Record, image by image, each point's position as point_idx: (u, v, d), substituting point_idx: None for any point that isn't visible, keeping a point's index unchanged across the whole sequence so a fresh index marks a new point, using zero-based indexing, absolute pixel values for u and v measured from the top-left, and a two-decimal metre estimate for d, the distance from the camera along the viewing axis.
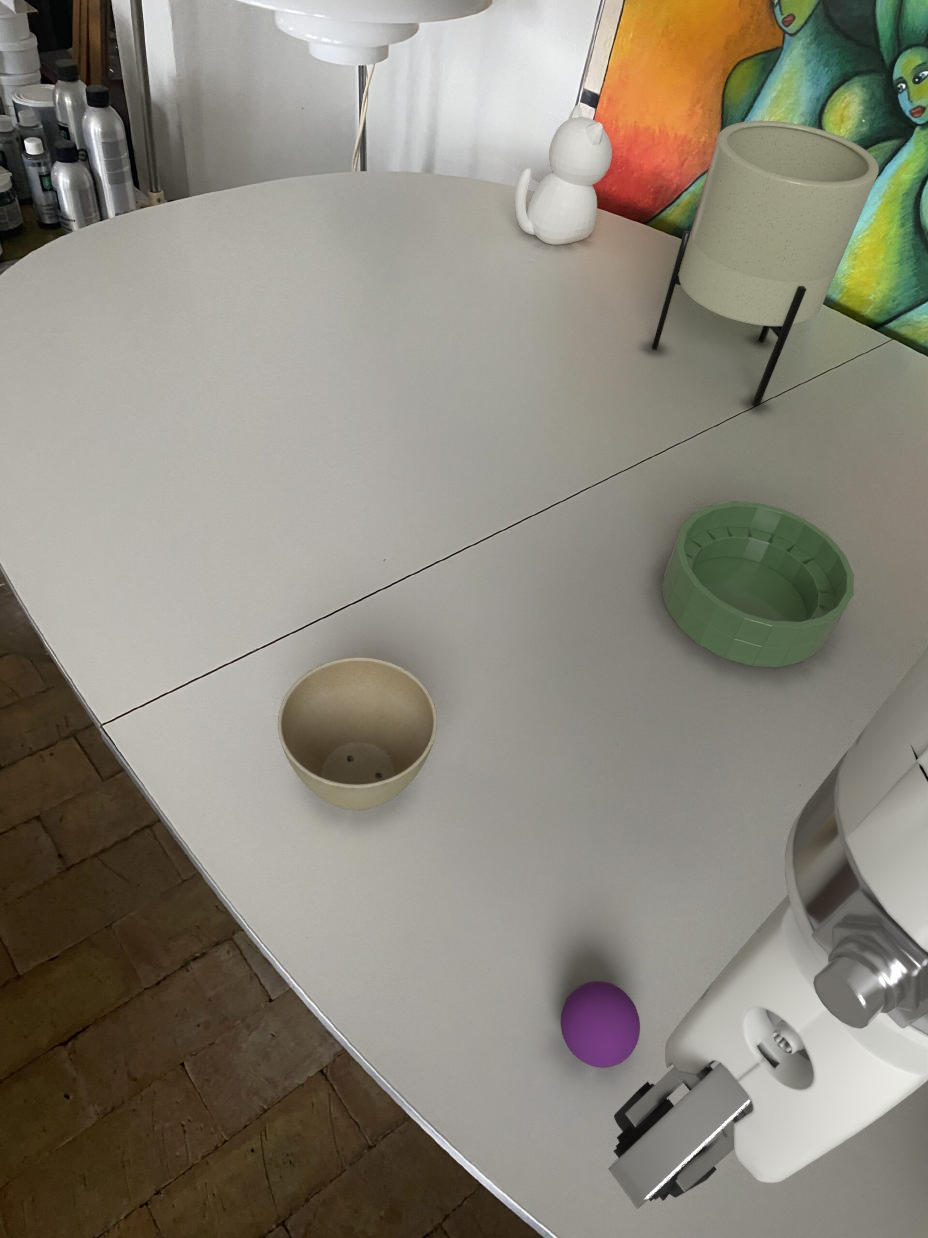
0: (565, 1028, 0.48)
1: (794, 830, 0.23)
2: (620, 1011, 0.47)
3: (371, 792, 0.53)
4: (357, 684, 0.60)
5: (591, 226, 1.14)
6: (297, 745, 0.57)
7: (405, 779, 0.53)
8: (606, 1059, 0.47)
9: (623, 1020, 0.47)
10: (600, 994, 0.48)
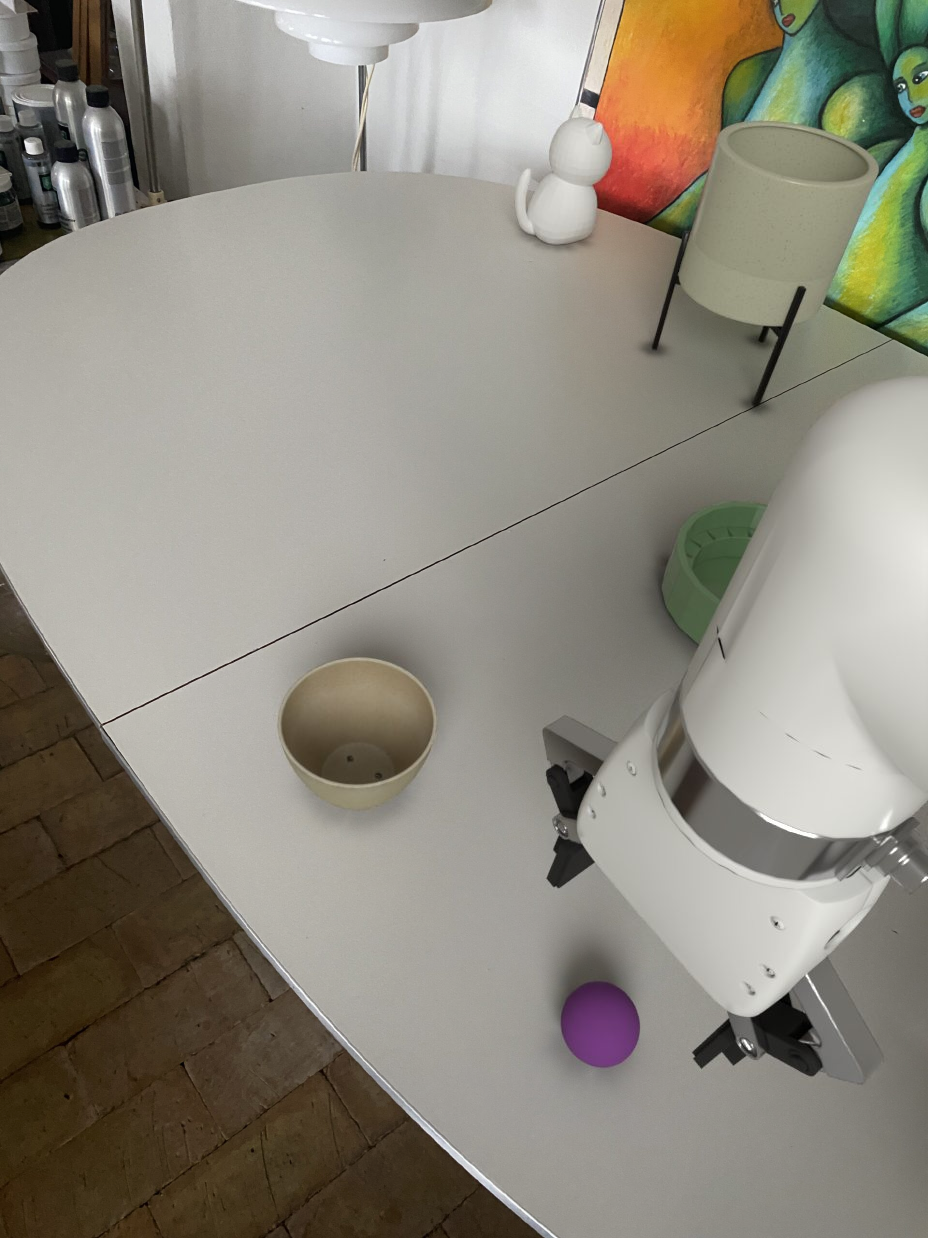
0: (565, 1028, 0.48)
1: (740, 867, 0.26)
2: (620, 1011, 0.47)
3: (371, 792, 0.53)
4: (357, 684, 0.60)
5: (591, 226, 1.14)
6: (297, 745, 0.57)
7: (405, 779, 0.53)
8: (606, 1059, 0.47)
9: (623, 1020, 0.47)
10: (600, 994, 0.48)
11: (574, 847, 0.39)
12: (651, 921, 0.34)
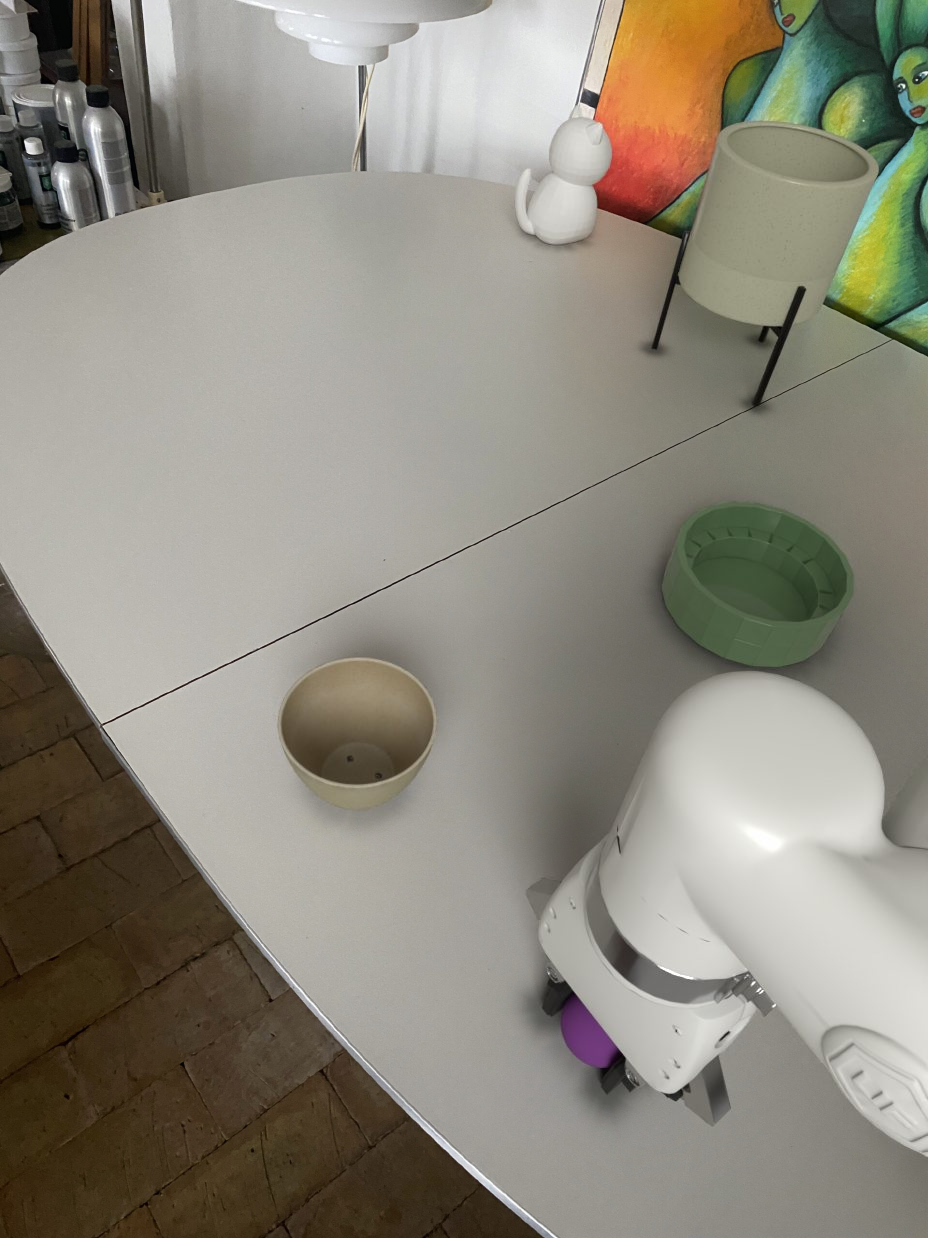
0: (565, 1028, 0.48)
1: (644, 993, 0.35)
2: None
3: (371, 792, 0.53)
4: (357, 684, 0.60)
5: (591, 226, 1.14)
6: (297, 745, 0.57)
7: (405, 779, 0.53)
8: (606, 1059, 0.47)
9: None
10: None
11: (563, 989, 0.48)
12: (595, 1014, 0.43)
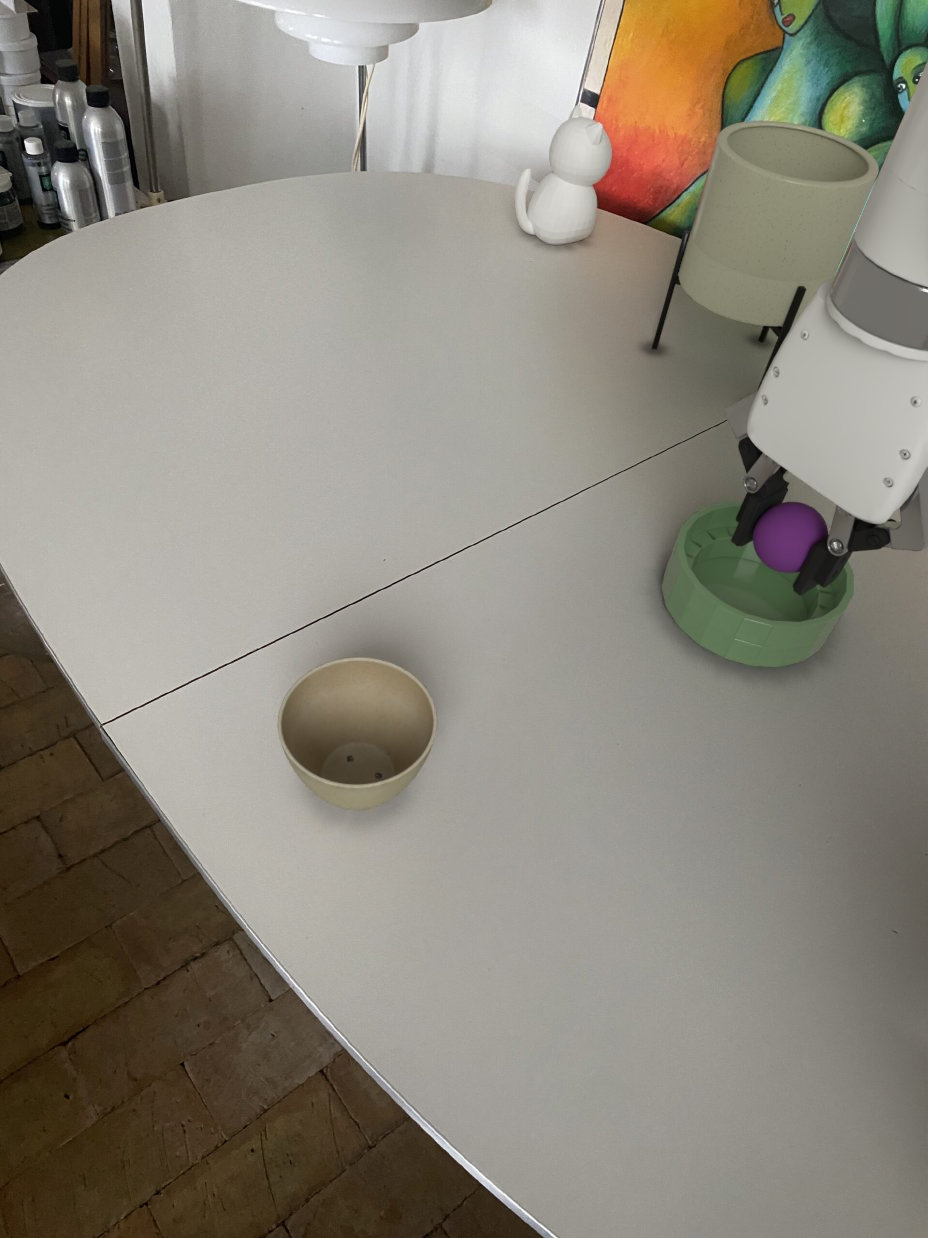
0: (762, 534, 0.53)
1: (896, 345, 0.40)
2: (814, 512, 0.52)
3: (371, 792, 0.53)
4: (357, 684, 0.60)
5: (591, 226, 1.14)
6: (297, 745, 0.57)
7: (405, 779, 0.53)
8: (803, 551, 0.52)
9: (817, 518, 0.52)
10: (793, 503, 0.53)
11: (760, 498, 0.53)
12: (809, 473, 0.48)
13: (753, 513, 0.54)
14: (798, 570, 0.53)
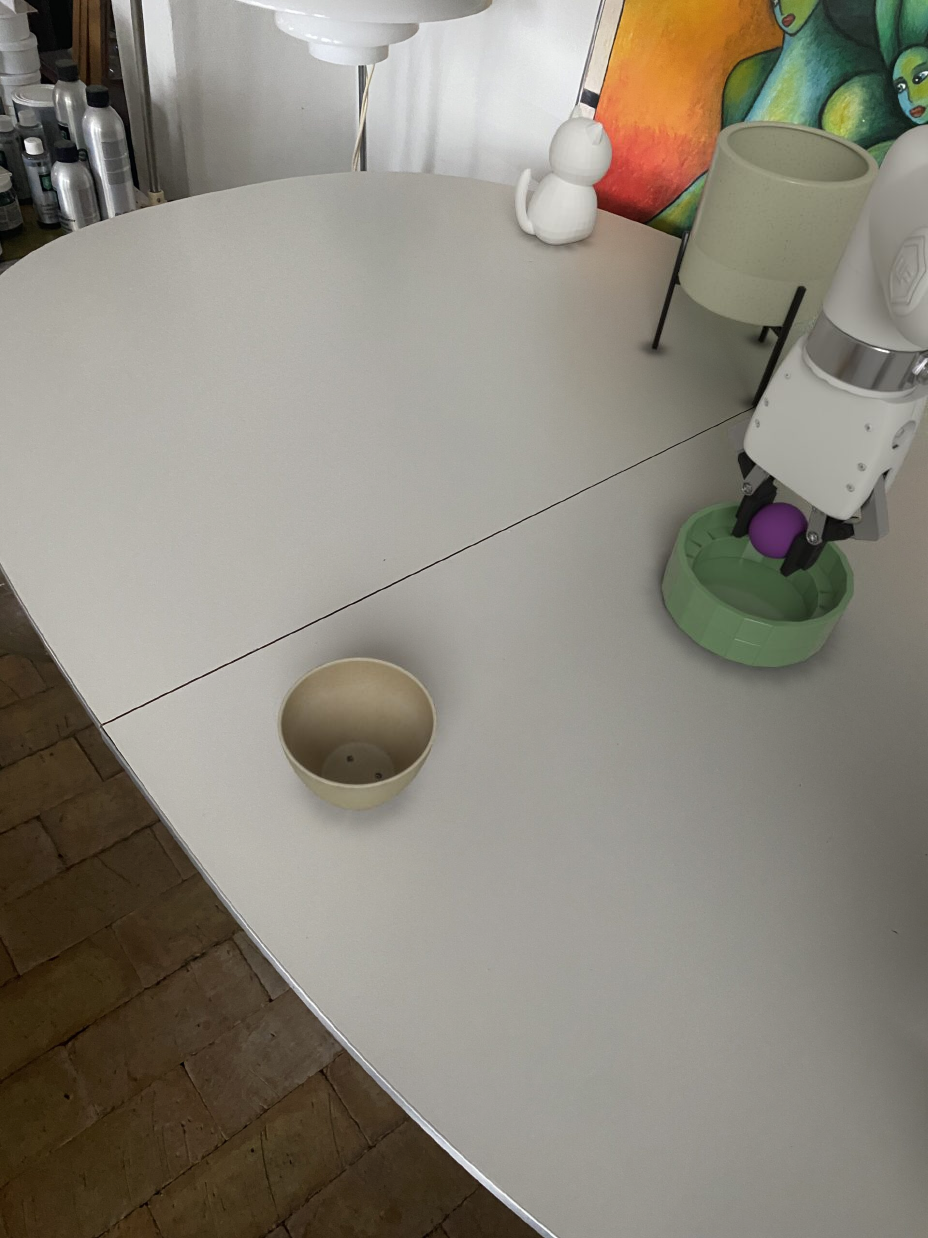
0: (755, 527, 0.67)
1: (853, 386, 0.54)
2: (796, 510, 0.66)
3: (371, 792, 0.53)
4: (357, 684, 0.60)
5: (591, 226, 1.14)
6: (297, 745, 0.57)
7: (405, 779, 0.53)
8: (788, 541, 0.66)
9: (799, 515, 0.66)
10: (781, 503, 0.67)
11: (754, 500, 0.67)
12: (791, 480, 0.62)
13: (749, 511, 0.68)
14: (784, 556, 0.67)
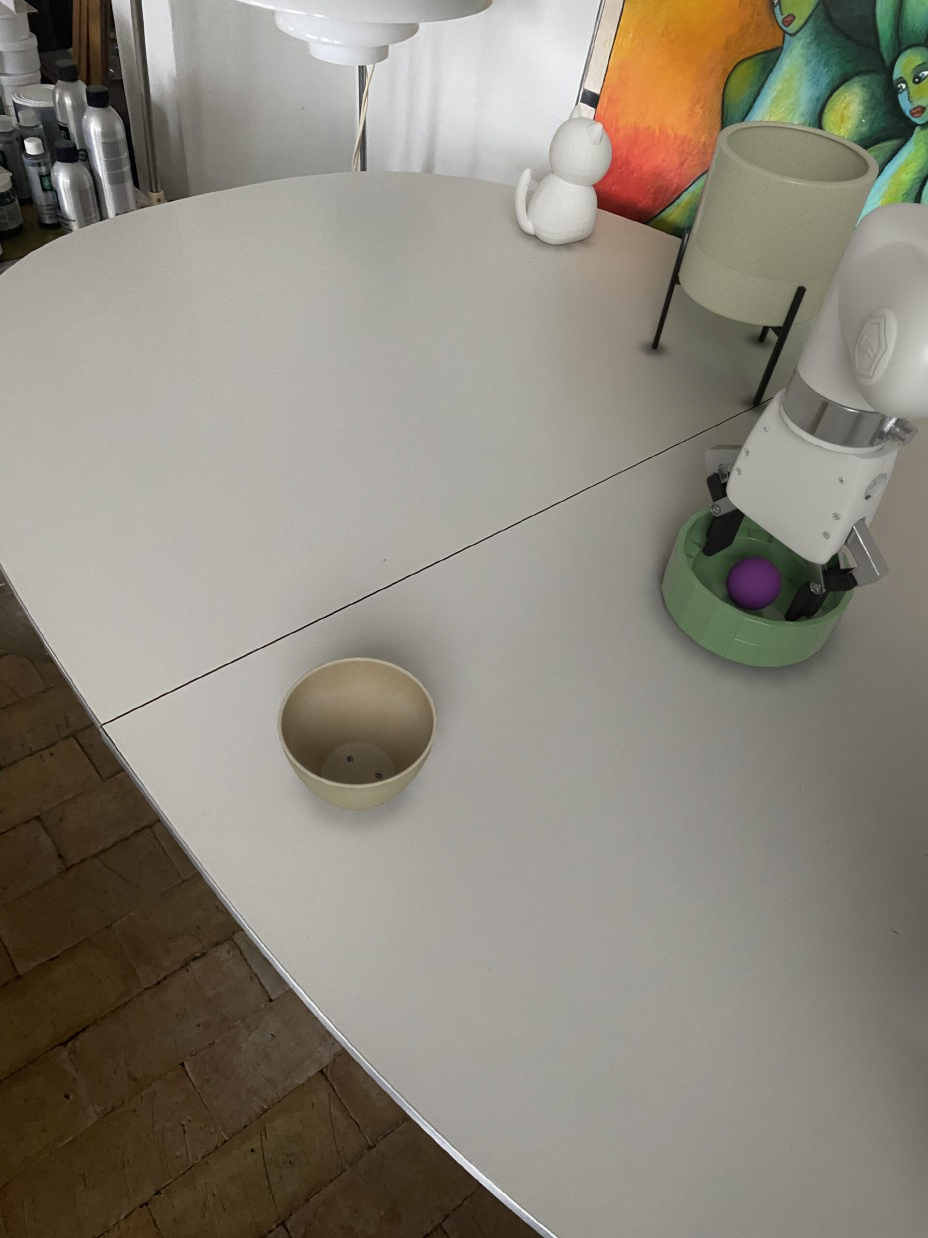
0: (732, 581, 0.71)
1: (826, 442, 0.57)
2: (770, 565, 0.71)
3: (371, 792, 0.53)
4: (357, 684, 0.60)
5: (591, 226, 1.14)
6: (297, 745, 0.57)
7: (405, 779, 0.53)
8: (762, 595, 0.70)
9: (772, 570, 0.71)
10: (755, 558, 0.71)
11: (723, 520, 0.71)
12: (771, 526, 0.65)
13: (718, 531, 0.71)
14: (759, 608, 0.72)
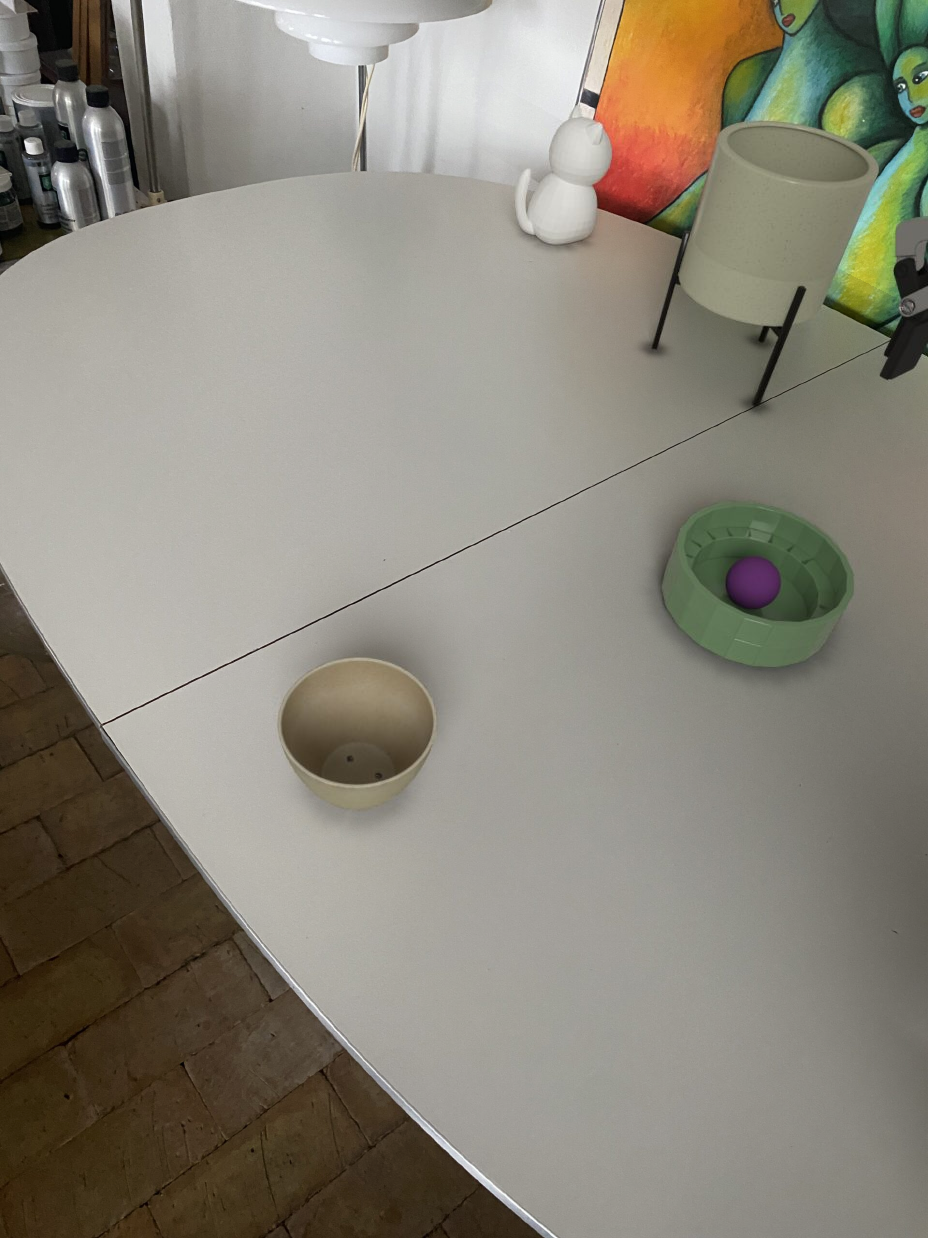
0: (731, 580, 0.72)
1: None
2: (769, 564, 0.71)
3: (371, 792, 0.53)
4: (357, 684, 0.60)
5: (591, 226, 1.14)
6: (297, 745, 0.57)
7: (405, 779, 0.53)
8: (761, 593, 0.70)
9: (771, 568, 0.71)
10: (754, 557, 0.72)
11: (917, 321, 0.53)
12: None
13: (908, 338, 0.53)
14: (759, 607, 0.72)
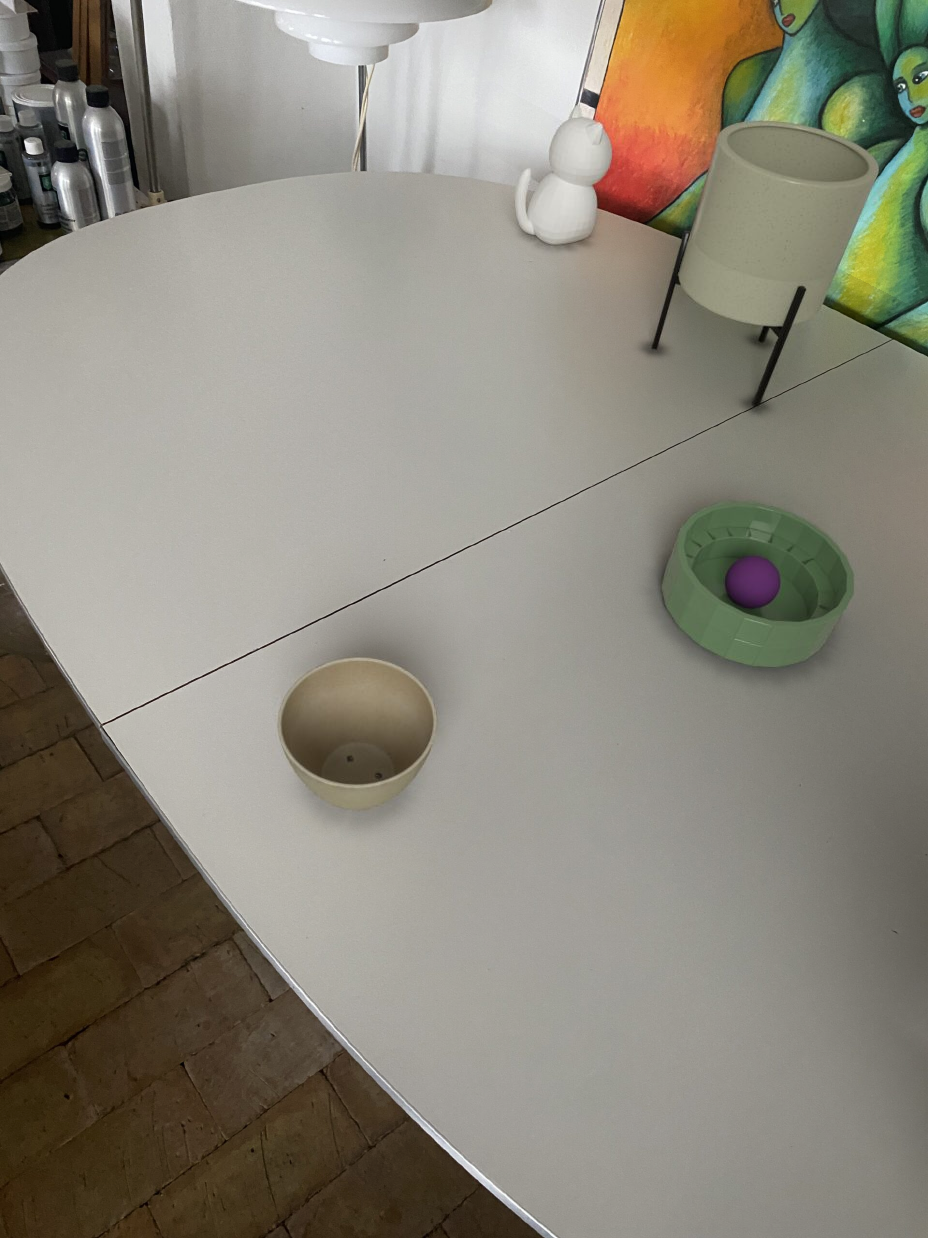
0: (730, 580, 0.72)
1: None
2: (767, 563, 0.71)
3: (371, 792, 0.53)
4: (357, 684, 0.60)
5: (591, 226, 1.14)
6: (297, 745, 0.57)
7: (405, 779, 0.53)
8: (761, 591, 0.70)
9: (770, 567, 0.71)
10: (752, 556, 0.72)
11: None
12: None
13: None
14: (759, 606, 0.72)
